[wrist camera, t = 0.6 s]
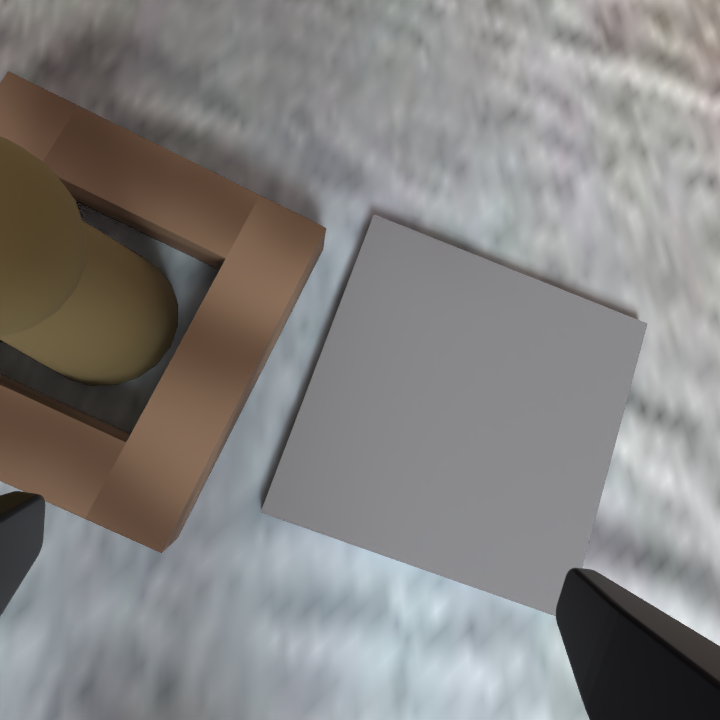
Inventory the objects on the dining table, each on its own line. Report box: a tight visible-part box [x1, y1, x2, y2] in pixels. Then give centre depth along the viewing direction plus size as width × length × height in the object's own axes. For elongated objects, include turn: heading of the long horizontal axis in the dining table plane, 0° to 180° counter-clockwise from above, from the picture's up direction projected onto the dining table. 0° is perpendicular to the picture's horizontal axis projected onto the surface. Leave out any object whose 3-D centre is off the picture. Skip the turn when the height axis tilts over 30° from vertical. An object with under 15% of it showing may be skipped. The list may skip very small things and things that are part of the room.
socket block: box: [0, 71, 326, 553], centre depth 21 cm, size 14×14×2 cm
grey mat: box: [261, 214, 647, 616], centre depth 23 cm, size 14×14×1 cm
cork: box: [0, 137, 178, 386], centre depth 17 cm, size 6×6×11 cm
